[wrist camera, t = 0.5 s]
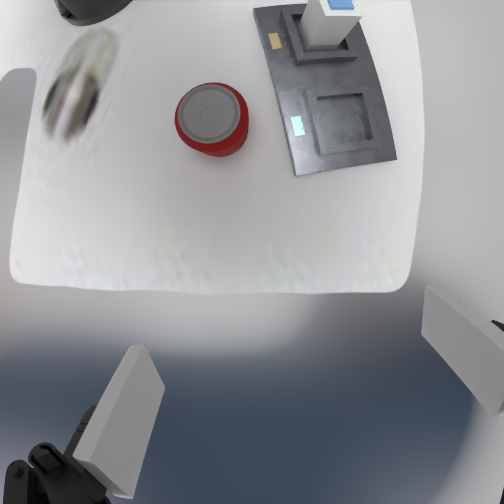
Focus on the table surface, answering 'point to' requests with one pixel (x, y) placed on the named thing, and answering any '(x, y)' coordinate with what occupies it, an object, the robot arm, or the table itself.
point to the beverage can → (213, 119)
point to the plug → (327, 23)
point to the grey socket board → (325, 95)
